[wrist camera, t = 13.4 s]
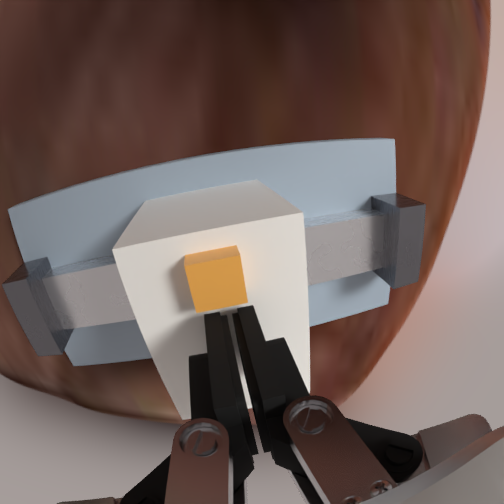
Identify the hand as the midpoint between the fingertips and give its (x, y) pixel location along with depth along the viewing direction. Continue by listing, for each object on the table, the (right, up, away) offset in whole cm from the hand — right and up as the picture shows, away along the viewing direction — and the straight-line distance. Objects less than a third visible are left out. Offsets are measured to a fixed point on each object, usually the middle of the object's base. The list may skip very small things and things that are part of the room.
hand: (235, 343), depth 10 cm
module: (-2, +2, +7) cm, 7 cm away
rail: (-2, +2, +7) cm, 7 cm away
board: (-2, +3, +8) cm, 9 cm away
